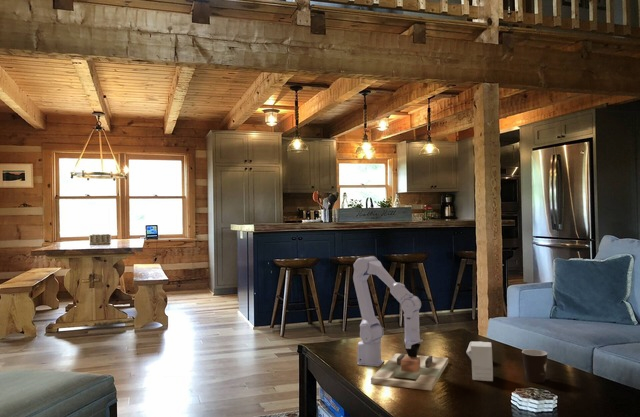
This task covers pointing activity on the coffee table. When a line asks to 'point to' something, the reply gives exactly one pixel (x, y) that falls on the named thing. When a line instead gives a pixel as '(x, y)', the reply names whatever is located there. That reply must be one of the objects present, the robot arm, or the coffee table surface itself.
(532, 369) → the coffee mug
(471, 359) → the die
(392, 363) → the deck
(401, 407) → the coffee table surface
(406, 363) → the block
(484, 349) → the supplement box
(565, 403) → the coffee table surface
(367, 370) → the coffee table surface
